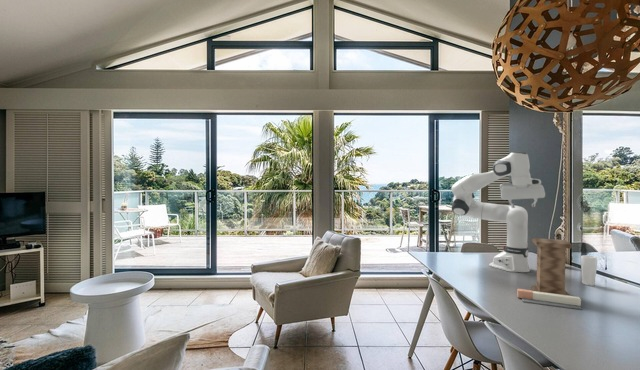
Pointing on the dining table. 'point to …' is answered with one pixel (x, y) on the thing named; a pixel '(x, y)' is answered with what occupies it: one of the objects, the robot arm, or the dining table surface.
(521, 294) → the white stick tan end
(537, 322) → the dining table surface
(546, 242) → the walnut stand
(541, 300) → the mat
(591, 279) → the drinking glass
